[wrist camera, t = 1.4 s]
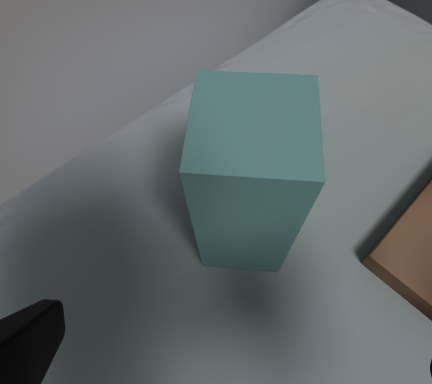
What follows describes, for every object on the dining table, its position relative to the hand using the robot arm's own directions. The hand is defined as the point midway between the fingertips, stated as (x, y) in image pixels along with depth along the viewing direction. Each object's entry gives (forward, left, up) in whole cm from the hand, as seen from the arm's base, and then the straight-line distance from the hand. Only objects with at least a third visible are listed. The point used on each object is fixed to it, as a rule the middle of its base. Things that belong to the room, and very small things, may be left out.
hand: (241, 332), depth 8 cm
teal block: (+5, -6, -13) cm, 15 cm away
